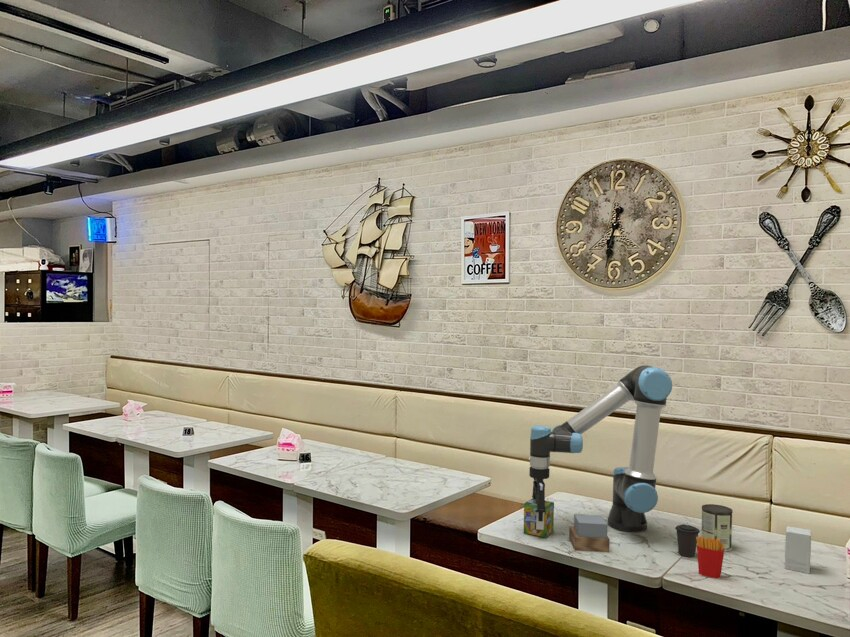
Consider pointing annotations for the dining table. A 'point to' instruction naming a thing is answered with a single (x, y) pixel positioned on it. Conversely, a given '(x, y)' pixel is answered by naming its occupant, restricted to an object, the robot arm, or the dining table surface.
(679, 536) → the coffee cup
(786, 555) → the supplement box
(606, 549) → the walnut base block
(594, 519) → the slate top block
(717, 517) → the coffee can
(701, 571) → the french fries
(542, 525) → the robot arm
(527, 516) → the chalk box
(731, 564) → the dining table surface
